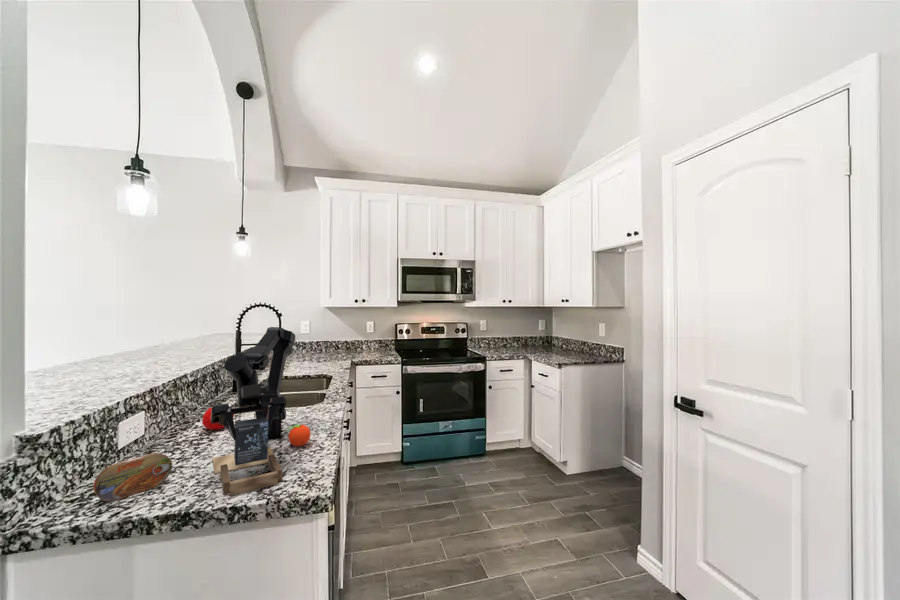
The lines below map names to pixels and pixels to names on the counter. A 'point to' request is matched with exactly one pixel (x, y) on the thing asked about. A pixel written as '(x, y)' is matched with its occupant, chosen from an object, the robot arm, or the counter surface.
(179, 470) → the counter surface
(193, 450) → the counter surface
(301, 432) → the clementine
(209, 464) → the counter surface
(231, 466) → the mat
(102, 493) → the tin
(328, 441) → the counter surface
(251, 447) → the box
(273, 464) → the brown u-shaped bracket
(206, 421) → the tomato
